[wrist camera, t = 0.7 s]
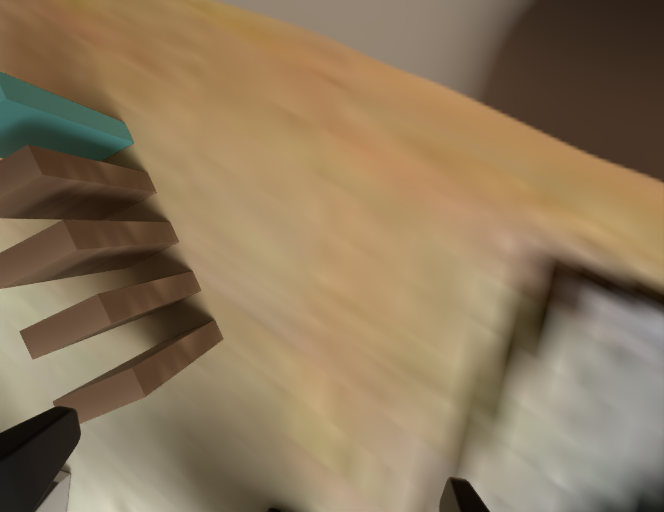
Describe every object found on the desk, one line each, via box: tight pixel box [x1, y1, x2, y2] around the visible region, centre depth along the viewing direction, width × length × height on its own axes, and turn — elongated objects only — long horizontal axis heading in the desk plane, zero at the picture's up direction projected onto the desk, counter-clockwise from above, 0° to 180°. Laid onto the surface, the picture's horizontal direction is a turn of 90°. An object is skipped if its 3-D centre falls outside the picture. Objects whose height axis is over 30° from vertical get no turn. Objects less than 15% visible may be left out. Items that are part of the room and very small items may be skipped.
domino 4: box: [0, 145, 157, 220], centre depth 22 cm, size 2×5×9 cm, turn 114°
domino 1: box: [53, 320, 223, 424], centre depth 22 cm, size 2×5×9 cm, turn 114°
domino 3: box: [0, 220, 179, 289], centre depth 22 cm, size 2×5×9 cm, turn 114°
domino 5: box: [0, 72, 134, 161], centre depth 22 cm, size 2×5×9 cm, turn 114°
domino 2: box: [19, 271, 201, 359], centre depth 22 cm, size 2×5×9 cm, turn 114°
